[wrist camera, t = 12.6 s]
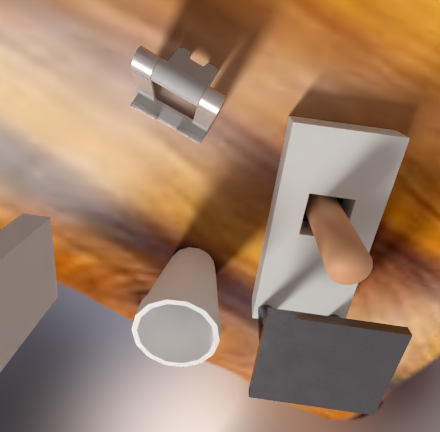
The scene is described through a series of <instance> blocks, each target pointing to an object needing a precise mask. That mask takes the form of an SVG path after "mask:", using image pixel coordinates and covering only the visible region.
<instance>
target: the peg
mask: <svg viewBox="0 0 440 432" xmlns="http://www.w3.org/2000/svg"><path fill="white" fill-rule="evenodd" d="M305 212H306V215H307V218H308V221H309V223H310V226H311V229H312V232H313V235H314V237H315V240H316V243H317V246H318V249H319V251H320V254H321V257H322V260H323V263H324V265H325V268H326V271H327V274H328V276H329V277H330V278H331V279H332V280H333V281H334V282H336V283H339V284H342V285H352V284H356V283H359V282H361V281H363V280H364V279H365V278H366V277H367V276H368V275H369V274H370V272H371V270H372V267H373V260H372V257H371V256H370V254H369V252H368V251H367V249H366V247H365V246H364V244H363V242H362V241H361V239H360V237H359V236H358V234H357V232H356V231H355V229H354V227H353V226H352V224H351V222H350V221H349V219H348V217H347V215H346V214H345V212H344V210H343V209H342V207H341V205H340V204H339V202H338V200H337V199H336V197H331V196H324V195H317V194H309V197H308V201H307V205H306V209H305Z"/></svg>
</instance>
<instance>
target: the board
mask: <svg viewBox="0 0 440 432" xmlns="http://www.w3.org/2000/svg"><path fill="white" fill-rule="evenodd" d="M409 140H410V138H409V137H407V136H405V135H403V134H402V133H400V132H398V131H396V130H391V129H384V128H377V127H369V126H362V125H355V124H347V123H340V122H333V121H325V120H318V119H311V118H304V117H296V116H289V117H288V122H287V127H286V132H285V137H284V142H283V147H282V152H281V157H280V162H279V167H278V172H277V177H276V182H275V187H274V192H273V196H272V201H271V206H270V211H269V216H268V221H267V226H266V231H265V236H264V241H263V246H262V251H261V256H260V261H259V266H258V271H257V276H256V281H255V286H254V291H253V296H252V318H257V319H258V308H259V307H260V306H261V305H269V306H271V307H272V308H275V309H282V310H289V311H296V312H303V313H310V314H317V315H324V316H329V315H332V314H335V315H338V316H339V317H340V318H346V316H347V313H348V310H349V307H350V305H351V302H352V299H353V296H354V293H355V291H356V288H357V285H358V283H356V284H352V285H342V284H339V283H336V282H334V281H333V280H332V279H331V278H330V277H329V276H328V274H327V271H326V268H325V265H324V263H323V260H322V257H321V254H320V251H319V249H318V246H317V243H316V240H315V237H314V235H313V232H312V229H311V226H310V223H309V221H303V217H304V213H305V209H306V205H307V201H308V197H309V194H317V195H324V196H331V197H338V198H343V201H342V205H341V207H342V209H343V210H344V212H345V214H346V215H347V217H348V219H349V221H350V222H351V224H352V226H353V227H354V229H355V231H356V232H357V234H358V236H359V237H360V239H361V241H362V242H363V244H364V246H365V247H366V249H367V251H368V252H369V251H370V249H371V246H372V243H373V240H374V238H375V235H376V232H377V229H378V226H379V224H380V221H381V218H382V215H383V212H384V210H385V207H386V204H387V201H388V198H389V196H390V193H391V190H392V187H393V184H394V182H395V179H396V176H397V173H398V171H399V168H400V165H401V162H402V159H403V157H404V154H405V151H406V148H407V145H408V143H409Z"/></svg>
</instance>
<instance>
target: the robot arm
mask: <svg viewBox="0 0 440 432" xmlns="http://www.w3.org/2000/svg"><path fill="white" fill-rule="evenodd" d="M57 297H58V290H57V279H56V270H55V260H54V250H53V241H52V231H51V221H50V217H44V216H36V215H29V214H22V215H20V216H19V217H18V218H16V219H15V220H14V221H12V222H11V223H10V224H8V225H7V226H6V227H4V228H3V229H1V230H0V372H1V370H2V369H3V368H4V367H5V365H6V364H7V363H8V361H9V360H10V359H11V357H12V356H13V355H14V353H15V352H16V351H17V350H18V348H19V347H20V346H21V344H22V343H23V342H24V340H25V339H26V338H27V336H28V335H29V334H30V333H31V331H32V330H33V329H34V327H35V326H36V325H37V323H38V322H39V321H40V319H41V318H42V317H43V315H44V314H45V313H46V311H47V310H48V309H49V308H50V306H51V305H52V304H53V302H54V301H55V300H56V298H57Z"/></svg>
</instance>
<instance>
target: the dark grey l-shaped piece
mask: <svg viewBox="0 0 440 432" xmlns="http://www.w3.org/2000/svg"><path fill="white" fill-rule="evenodd" d="M258 331H259V347H258V351H257V355H256V360H255V364H254V369H253V373H252V377H251V382H250V386H249V397H252V398H260V399H266V400H273V401H280V402H287V403H294V404H300V405H307V406H314V407H321V408H328V409H335V410H342V411H349V412H355V413H362V414H369V415H374V414H375V412H376V410H377V408H378V406H379V404H380V402H381V400H382V398H383V396H384V394H385V391H386V389H387V387H388V385H389V383H390V381H391V379H392V377H393V375H394V373H395V371H396V368H397V366H398V364H399V362H400V360H401V358H402V356H403V354H404V352H405V350H406V348H407V345H408V343H409V341H410V339H411V337H412V334H411V332H410V331H409V329H408V327H401V326H394V325H387V324H380V323H373V322H366V321H359V320H352V319H345V318H340V317H339V316H338V315H335V314H332V315H329V316H324V315H317V314H310V313H303V312H296V311H289V310H282V309H275V308H272V307H271V306H269V305H261V306H260V307H259V308H258Z"/></svg>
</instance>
